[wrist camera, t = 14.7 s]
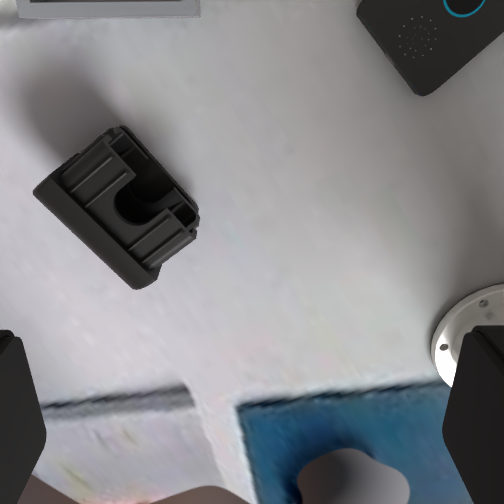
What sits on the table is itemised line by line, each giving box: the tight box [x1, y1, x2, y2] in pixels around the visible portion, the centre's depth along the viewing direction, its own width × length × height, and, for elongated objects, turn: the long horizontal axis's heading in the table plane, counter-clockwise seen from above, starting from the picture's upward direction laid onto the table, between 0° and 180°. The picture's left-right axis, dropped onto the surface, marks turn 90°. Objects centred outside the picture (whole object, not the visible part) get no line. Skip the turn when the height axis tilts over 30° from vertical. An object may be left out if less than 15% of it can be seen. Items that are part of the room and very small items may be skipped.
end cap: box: [33, 126, 200, 290], centre depth 34 cm, size 10×7×7 cm
